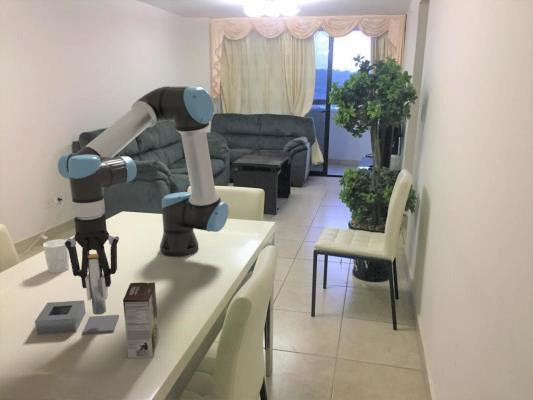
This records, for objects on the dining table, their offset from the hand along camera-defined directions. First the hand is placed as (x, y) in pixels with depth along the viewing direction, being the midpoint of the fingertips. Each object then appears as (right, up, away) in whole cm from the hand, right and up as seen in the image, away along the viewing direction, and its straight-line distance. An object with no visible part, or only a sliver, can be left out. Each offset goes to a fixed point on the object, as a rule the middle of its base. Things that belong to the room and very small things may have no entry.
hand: (98, 297), depth 118 cm
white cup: (-29, +2, +38) cm, 47 cm away
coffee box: (+15, -11, -8) cm, 20 cm away
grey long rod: (0, -4, +1) cm, 4 cm away
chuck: (-11, -8, +3) cm, 14 cm away
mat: (0, -8, +2) cm, 8 cm away
